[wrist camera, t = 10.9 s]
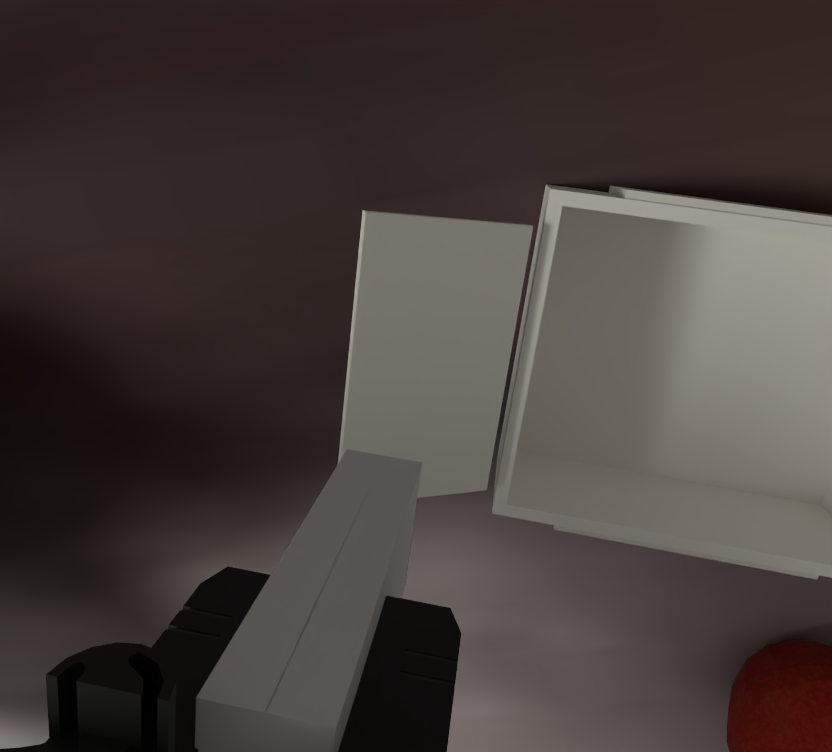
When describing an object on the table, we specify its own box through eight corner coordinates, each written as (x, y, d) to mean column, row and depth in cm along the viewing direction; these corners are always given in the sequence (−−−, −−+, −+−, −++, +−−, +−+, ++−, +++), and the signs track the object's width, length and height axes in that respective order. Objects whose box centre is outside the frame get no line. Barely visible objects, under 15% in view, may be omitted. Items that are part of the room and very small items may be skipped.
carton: (496, 458, 33) (490, 520, 27) (547, 176, 28) (552, 179, 23) (822, 517, 31) (889, 596, 25) (926, 227, 27) (1033, 243, 21)
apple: (685, 629, 34) (729, 759, 26) (853, 588, 32) (952, 715, 24) (731, 750, 35) (785, 904, 28) (894, 718, 33) (998, 874, 26)
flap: (486, 490, 26) (482, 486, 26) (533, 226, 23) (528, 224, 23) (336, 506, 23) (334, 502, 24) (366, 211, 20) (362, 210, 21)
